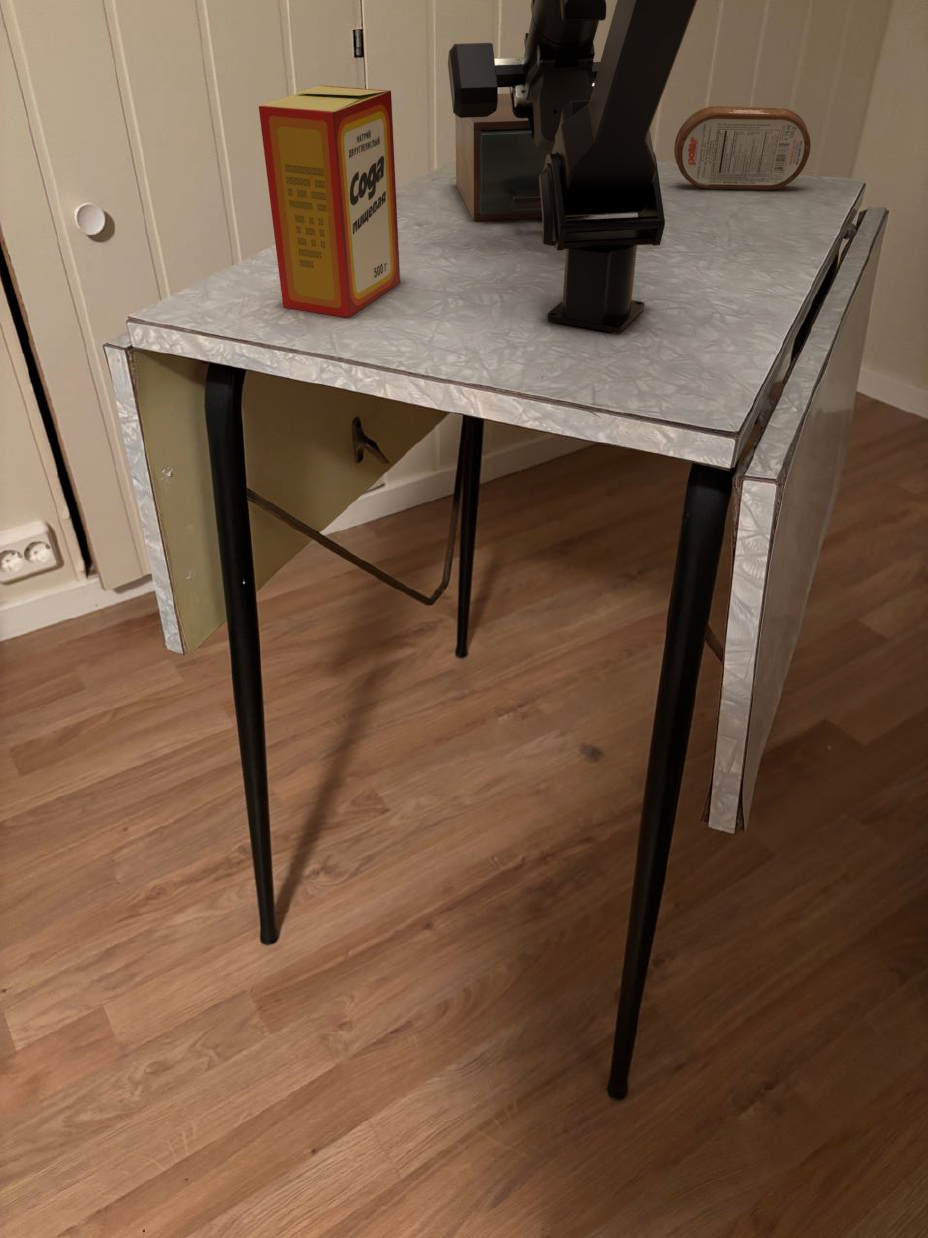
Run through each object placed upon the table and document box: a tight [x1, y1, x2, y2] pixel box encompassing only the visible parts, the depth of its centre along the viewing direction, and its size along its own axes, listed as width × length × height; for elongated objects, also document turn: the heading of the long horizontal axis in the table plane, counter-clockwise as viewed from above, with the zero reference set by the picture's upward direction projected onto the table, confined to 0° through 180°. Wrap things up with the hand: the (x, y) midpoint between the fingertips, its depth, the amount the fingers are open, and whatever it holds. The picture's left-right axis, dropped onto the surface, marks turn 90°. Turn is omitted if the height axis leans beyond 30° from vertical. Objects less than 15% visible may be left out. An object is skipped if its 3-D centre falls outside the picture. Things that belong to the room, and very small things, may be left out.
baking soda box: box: [258, 85, 401, 319], centre depth 82 cm, size 10×6×16 cm
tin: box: [673, 105, 812, 191], centre depth 112 cm, size 15×3×8 cm, turn 84°
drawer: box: [479, 129, 553, 215], centre depth 105 cm, size 18×11×8 cm, turn 8°
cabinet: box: [454, 92, 573, 222], centre depth 108 cm, size 15×13×10 cm
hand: (537, 135), depth 99 cm, fingers closed, pressing on drawer
